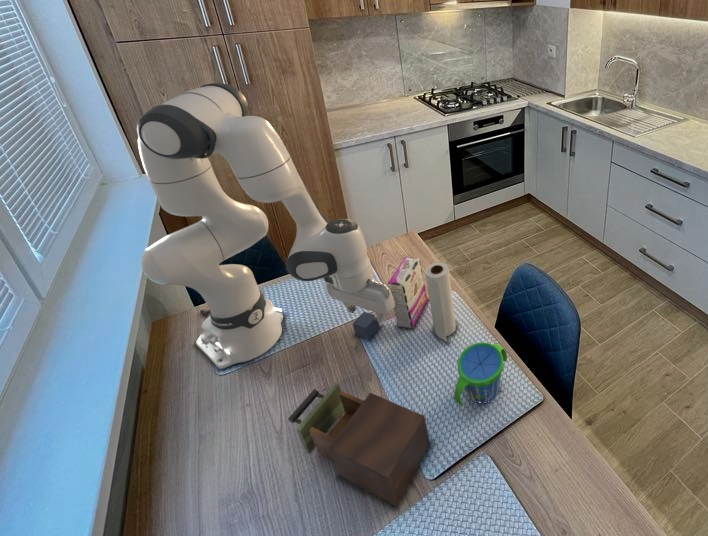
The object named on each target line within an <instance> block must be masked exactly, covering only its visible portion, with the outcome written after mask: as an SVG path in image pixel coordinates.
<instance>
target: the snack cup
mask: <svg viewBox="0 0 708 536" xmlns="http://www.w3.org/2000/svg"><path fill="white" fill-rule="evenodd" d="M507 361H508V354H507V350H506V348H504V347H503V346H502V345H500V344H499V343H493V344H492V343H489V342H476V343H473V344H470V345H469V346H467V347H466V348H464V349H463V350H462V352H461V353H460V354H459V357H458V358H457V372H458V379H457V380H456V383H455V387H454V392H453V400H454V401H455V402H456V403H457V404H458V405H459V406H460V407H464V404H463V402H462V399H461V395H462V393H463V391H464V389H465V390H466V393H467V396H468V397H469V399H470V400H471V401H472V402H474V403H476V404H482V405H483V404H484V403H483V402H486V403H485V404H490V402H491V401H494V400H495V398H496V396H497V395H498V394H499V389H500V385H501V378H502V373H503V371H504V368H505V364H504V362H507ZM473 400H474V401H473ZM490 400H491V401H490ZM475 401H476V402H475ZM488 401H489V402H488ZM478 402H481V403H478Z"/></svg>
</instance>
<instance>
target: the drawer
mask: <svg viewBox="0 0 708 536" xmlns="http://www.w3.org/2000/svg"><path fill="white" fill-rule="evenodd" d="M316 398H319V401H318V402H317V403H316V404H315V405H314V407H313V408H312V409H311V410H310V412H308V414H306V416H304V418H303V419H302V420H301V419H300V417H301V416H302V415H303V414H304V412H305V411H306V410H307V409H308V408H309V407H310V405H311V404H312V403H313V402H314V401H315V400H316ZM363 401H364V399H361V398H360V397H359V398H358V397H357V396H354V395H352V394H350V393H347V392H345V391H342V389H341V387H340V384H338V383H336V382H334V383H333V385H331V386H330V388H329V389H328V390H327V392H325V394H322V393H320V392H319V391H318V389H315V388H313V390H312V391H311V392H310V393H309V394H308V395H307V396H306V398H305V399H304V400H303V401H302V402H301V403H300V404H299V405H298V407H296V409H295V410H294V411H293V412H292V413H291V414H290V415H289V416H288V418H287V420H288V421H289V422H290V423H291V424H297V426H296V428H295V430H296V432H297V435H298V437H299V440H300V441H301V444H302V447H303V449H304V450H305V452H306V453H307V454H311V453H312V452H313V450H315V449H316V451H317V453H319V454H321V455H323V456H325V457H326V458H328V459H330V460H332V461H334V460H333V458H332V455H331V452H330V450H329V446H330V445H331V444H332V442H333V441H334V440H335V438H336V437H337V436H338V434H339V433H340V432H341V430H342V429H343V428H344V426H345V425H346V424H347V422H348V421H349V420H350V419H351V417H352V416H353V415H354V413H355V412H356V411H357V409H358V408H359V407H360V405H361V404H362V403H363ZM343 412H344V413H343ZM342 414H343V415H342ZM341 415H342V417H341V418H340V419H339V417H340V416H341ZM338 419H339V420H338ZM337 420H338V422H337V423H336V421H337ZM335 423H336V424H335ZM334 424H335V425H334ZM333 425H334V426H333ZM332 426H333V428H332V429H331V427H332ZM330 429H331V430H330ZM329 430H330V432H329ZM327 432H329V433H327Z"/></svg>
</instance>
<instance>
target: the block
mask: <svg viewBox="0 0 708 536" xmlns="http://www.w3.org/2000/svg"><path fill="white" fill-rule="evenodd" d="M375 315H376V314H373V313H370V312H367V311H365V310H364V311H363V312H362V313H361V314H360V315H359V316H357V318H356V319H355V320H354V321H353V322H352V326H353V330H354V334H355V335H356V336H357V337H360V338H362V339H365V340H368V341H369V340H370V339H371V338H372V337H373V336H374V335H375V334H376V332H378V330H379V329H380V322H377V321H375V319H374V316H375Z"/></svg>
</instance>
